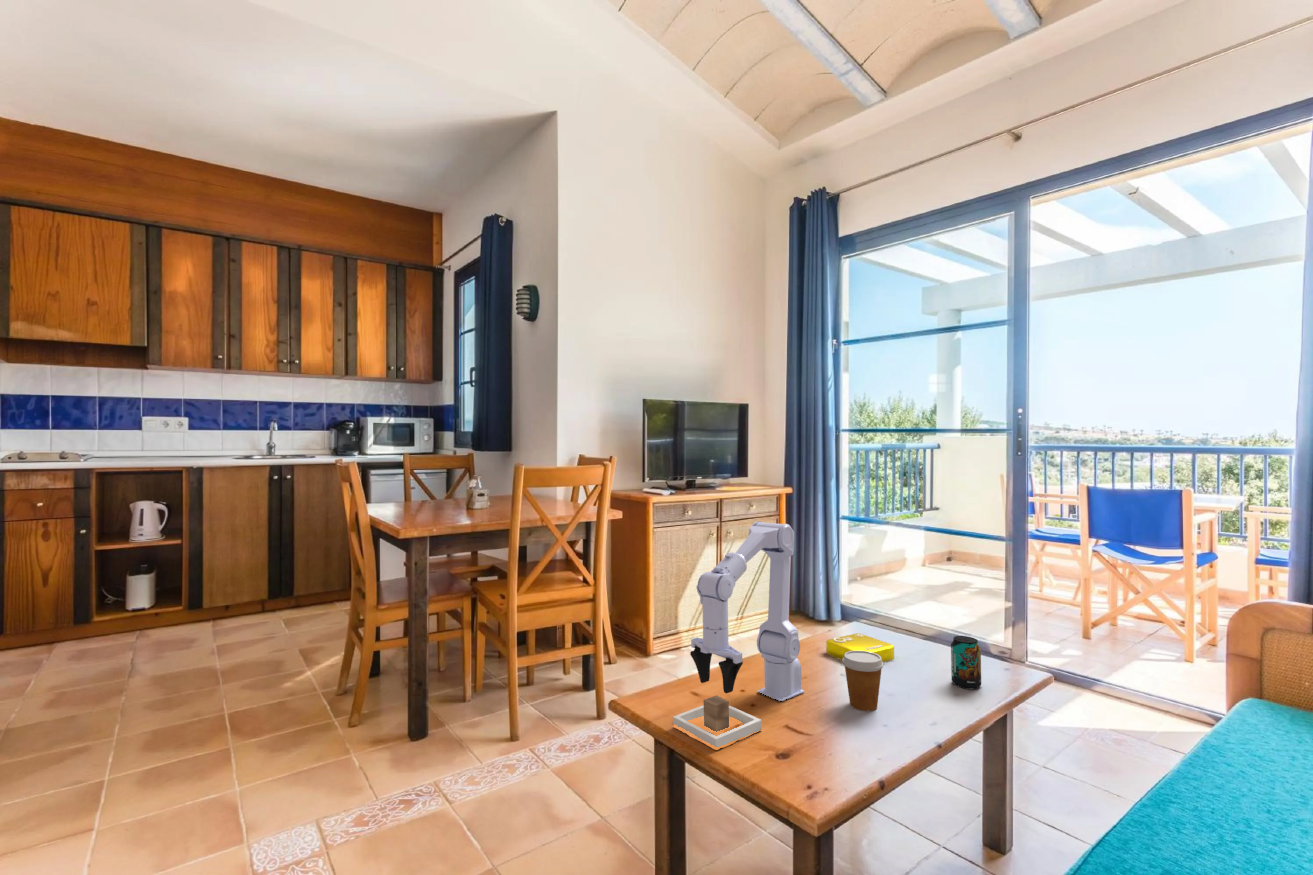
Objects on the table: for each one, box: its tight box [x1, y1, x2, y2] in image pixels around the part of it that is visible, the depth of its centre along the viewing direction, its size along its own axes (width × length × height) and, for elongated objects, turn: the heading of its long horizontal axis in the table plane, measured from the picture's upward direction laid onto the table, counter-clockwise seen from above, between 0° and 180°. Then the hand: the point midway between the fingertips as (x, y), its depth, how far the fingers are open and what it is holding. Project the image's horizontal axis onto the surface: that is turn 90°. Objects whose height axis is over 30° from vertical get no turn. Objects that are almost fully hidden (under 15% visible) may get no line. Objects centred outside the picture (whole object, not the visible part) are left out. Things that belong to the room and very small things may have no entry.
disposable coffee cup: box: [841, 650, 885, 712], centre depth 148 cm, size 10×10×12 cm
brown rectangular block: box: [703, 695, 730, 732], centre depth 136 cm, size 4×4×6 cm
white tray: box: [672, 704, 763, 747], centre depth 136 cm, size 14×14×2 cm
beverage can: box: [950, 635, 982, 690], centre depth 160 cm, size 7×7×12 cm
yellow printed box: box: [825, 632, 895, 663], centre depth 183 cm, size 15×15×5 cm
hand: (716, 686), depth 137 cm, fingers open, 7 cm apart
